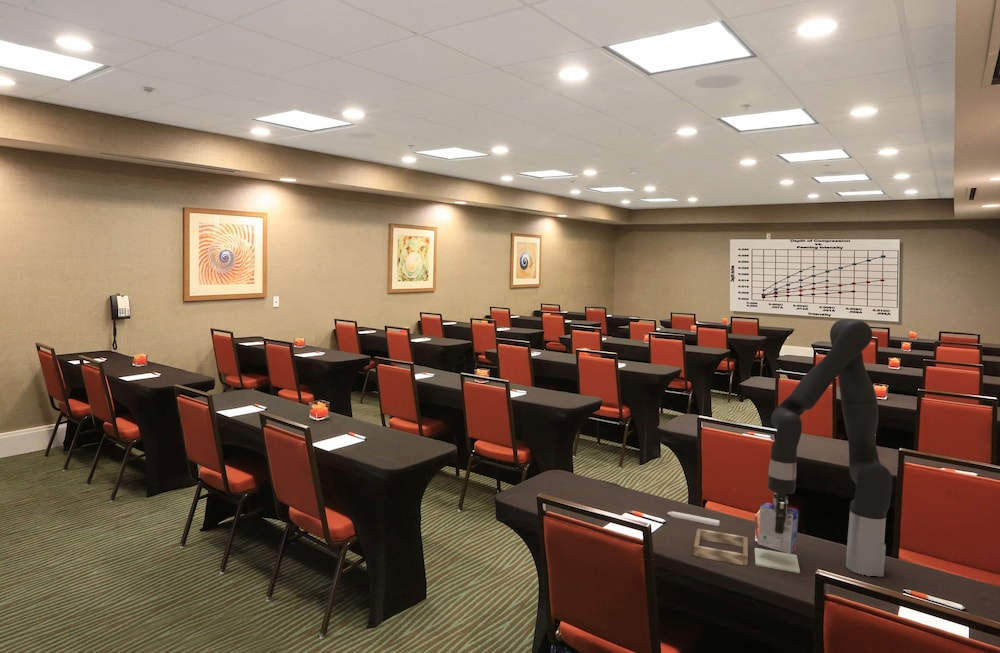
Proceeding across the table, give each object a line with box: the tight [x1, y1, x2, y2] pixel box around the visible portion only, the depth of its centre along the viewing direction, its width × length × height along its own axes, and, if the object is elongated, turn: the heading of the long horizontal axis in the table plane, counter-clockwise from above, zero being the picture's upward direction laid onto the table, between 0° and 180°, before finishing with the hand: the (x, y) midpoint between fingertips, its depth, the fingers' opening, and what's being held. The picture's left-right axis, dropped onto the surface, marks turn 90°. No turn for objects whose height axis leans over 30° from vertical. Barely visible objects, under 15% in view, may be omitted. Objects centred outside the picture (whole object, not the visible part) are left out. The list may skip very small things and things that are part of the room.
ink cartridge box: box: [757, 502, 799, 554], centre depth 185 cm, size 10×6×14 cm, turn 48°
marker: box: [667, 511, 721, 527], centre depth 216 cm, size 18×2×2 cm, turn 62°
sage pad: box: [754, 547, 801, 574], centre depth 185 cm, size 12×12×1 cm
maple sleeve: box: [692, 528, 749, 567], centre depth 191 cm, size 15×15×3 cm
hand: (778, 528), depth 185 cm, fingers closed on ink cartridge box, 6 cm apart
